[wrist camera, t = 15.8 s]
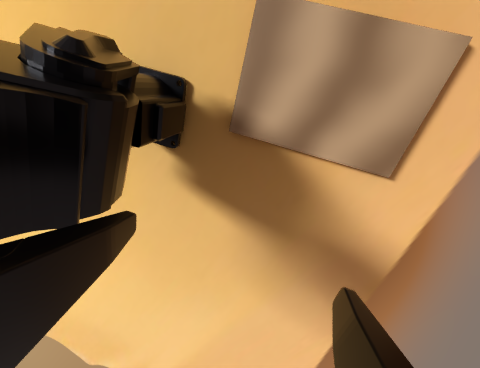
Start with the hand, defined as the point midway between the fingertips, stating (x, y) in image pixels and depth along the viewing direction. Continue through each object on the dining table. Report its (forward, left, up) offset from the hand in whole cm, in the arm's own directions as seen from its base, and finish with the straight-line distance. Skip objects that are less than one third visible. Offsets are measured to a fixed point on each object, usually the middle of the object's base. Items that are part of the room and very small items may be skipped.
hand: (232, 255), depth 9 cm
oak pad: (+3, +7, -13) cm, 15 cm away
